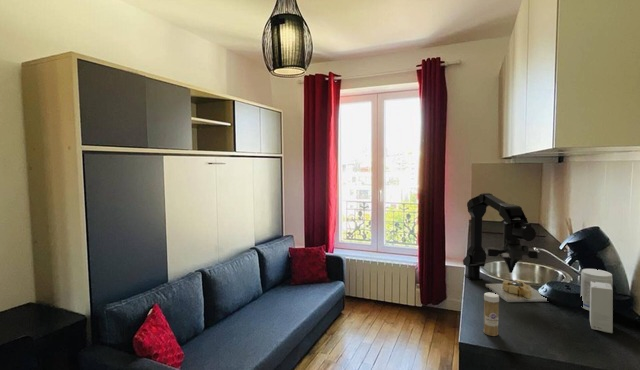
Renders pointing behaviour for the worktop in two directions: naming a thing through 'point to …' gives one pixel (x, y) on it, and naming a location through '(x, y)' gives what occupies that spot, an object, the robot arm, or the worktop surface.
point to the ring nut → (522, 290)
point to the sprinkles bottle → (491, 314)
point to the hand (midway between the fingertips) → (510, 272)
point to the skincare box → (601, 306)
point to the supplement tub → (592, 276)
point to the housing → (515, 297)
